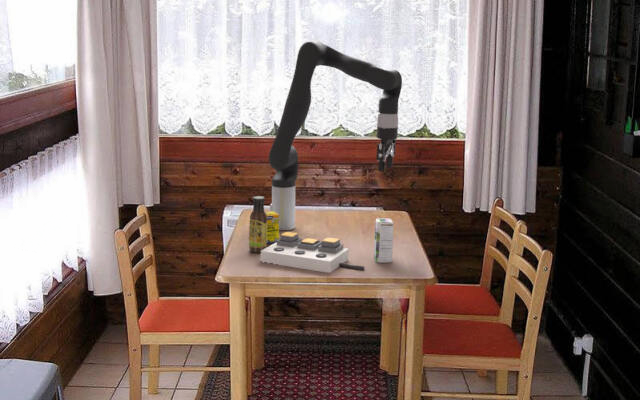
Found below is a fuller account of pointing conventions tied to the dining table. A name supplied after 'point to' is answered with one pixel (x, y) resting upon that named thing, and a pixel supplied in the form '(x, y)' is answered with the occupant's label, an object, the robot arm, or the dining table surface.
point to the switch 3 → (331, 242)
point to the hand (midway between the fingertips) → (385, 169)
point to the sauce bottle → (258, 226)
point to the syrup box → (383, 240)
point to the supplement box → (272, 227)
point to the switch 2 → (310, 241)
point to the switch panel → (307, 256)
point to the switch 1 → (289, 236)
